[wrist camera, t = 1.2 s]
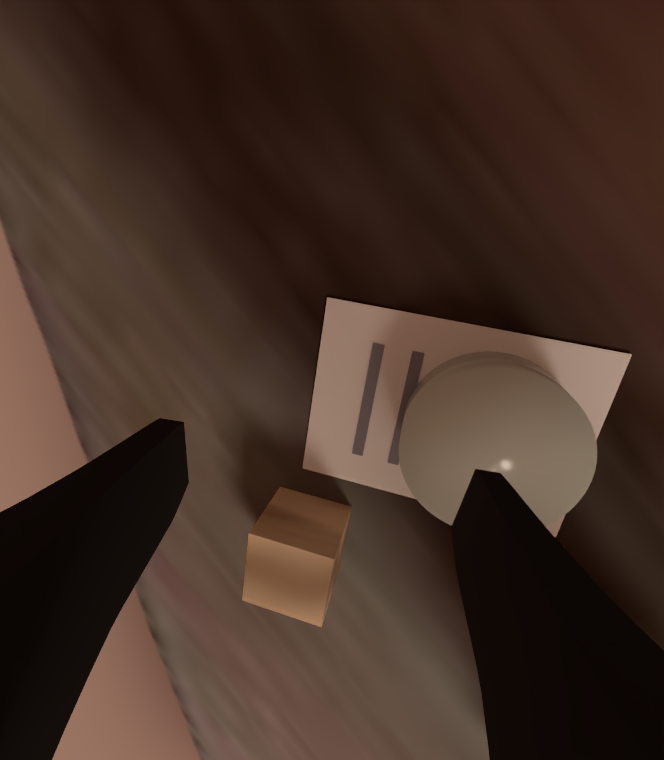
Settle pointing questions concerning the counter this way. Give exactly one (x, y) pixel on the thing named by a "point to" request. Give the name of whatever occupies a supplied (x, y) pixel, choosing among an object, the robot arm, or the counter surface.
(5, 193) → the counter surface
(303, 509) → the maple block
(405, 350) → the letter
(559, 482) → the puck
